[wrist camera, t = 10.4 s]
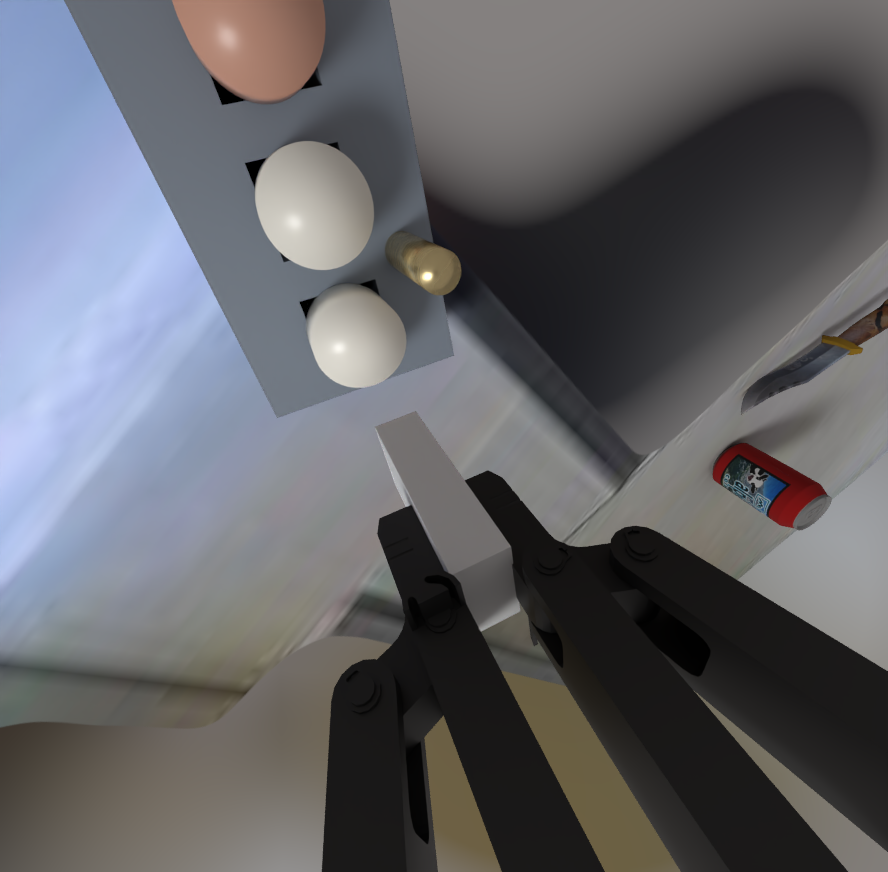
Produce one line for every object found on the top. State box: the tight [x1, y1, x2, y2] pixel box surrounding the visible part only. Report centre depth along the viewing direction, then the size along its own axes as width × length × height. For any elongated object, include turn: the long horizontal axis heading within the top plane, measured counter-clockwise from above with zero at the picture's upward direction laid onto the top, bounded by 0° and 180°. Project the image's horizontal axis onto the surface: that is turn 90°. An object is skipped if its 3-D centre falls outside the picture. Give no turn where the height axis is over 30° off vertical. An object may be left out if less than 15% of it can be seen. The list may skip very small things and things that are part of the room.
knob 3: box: [306, 283, 406, 388], centre depth 26 cm, size 5×5×8 cm
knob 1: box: [172, 0, 325, 104], centre depth 18 cm, size 5×5×8 cm
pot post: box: [385, 231, 461, 295], centre depth 21 cm, size 2×2×6 cm
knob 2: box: [255, 141, 374, 270], centre depth 22 cm, size 5×5×8 cm
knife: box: [741, 299, 888, 415], centre depth 52 cm, size 25×1×5 cm, turn 120°
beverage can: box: [713, 443, 831, 530], centre depth 56 cm, size 7×7×12 cm
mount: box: [64, 0, 454, 418], centre depth 23 cm, size 12×21×6 cm, turn 11°
